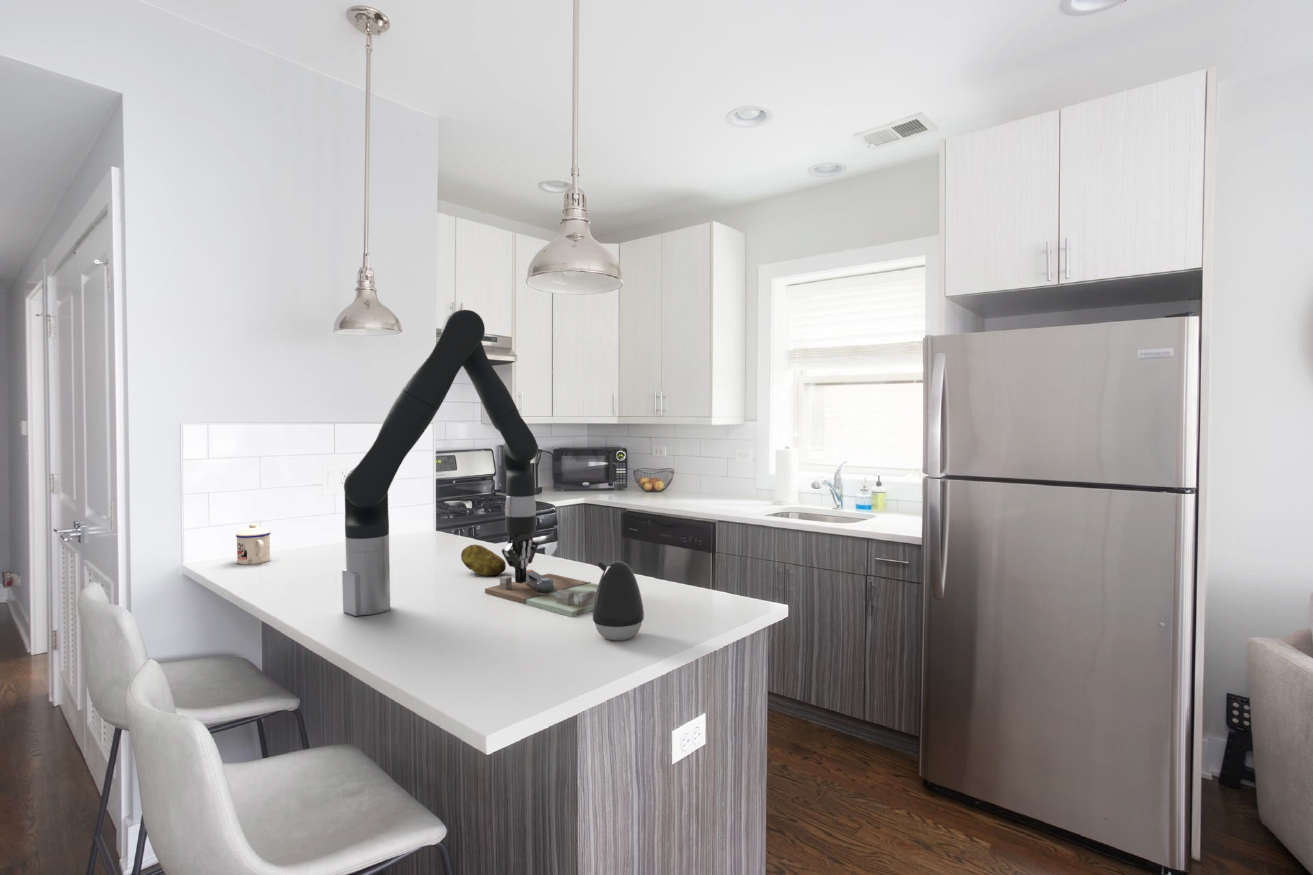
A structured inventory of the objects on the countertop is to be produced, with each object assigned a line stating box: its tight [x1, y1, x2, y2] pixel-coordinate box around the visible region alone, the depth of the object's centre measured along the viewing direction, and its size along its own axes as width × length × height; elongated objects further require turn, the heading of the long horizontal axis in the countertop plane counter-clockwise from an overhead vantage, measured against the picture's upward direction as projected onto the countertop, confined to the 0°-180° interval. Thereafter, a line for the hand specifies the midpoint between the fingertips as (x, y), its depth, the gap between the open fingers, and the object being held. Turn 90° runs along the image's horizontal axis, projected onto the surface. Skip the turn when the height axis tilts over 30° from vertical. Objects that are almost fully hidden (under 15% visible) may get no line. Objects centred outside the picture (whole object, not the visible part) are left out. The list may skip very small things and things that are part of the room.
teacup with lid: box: [235, 523, 271, 566], centre depth 210 cm, size 12×9×12 cm
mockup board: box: [484, 572, 599, 618], centre depth 170 cm, size 21×32×4 cm, turn 49°
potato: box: [460, 544, 507, 577], centre depth 193 cm, size 8×13×8 cm, turn 52°
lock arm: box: [526, 568, 554, 593], centre depth 171 cm, size 4×15×3 cm, turn 30°
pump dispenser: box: [592, 560, 645, 642], centre depth 138 cm, size 10×10×15 cm
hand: (520, 582), depth 173 cm, fingers closed
